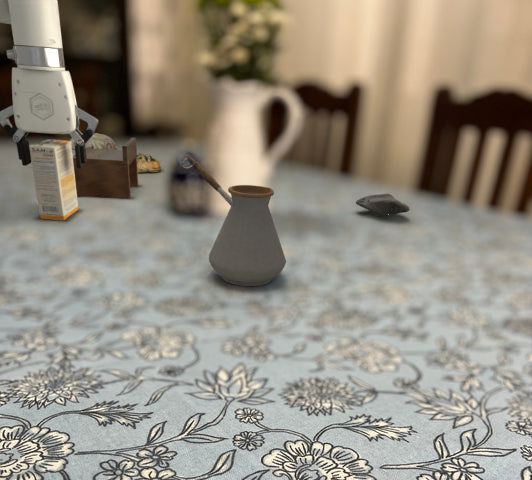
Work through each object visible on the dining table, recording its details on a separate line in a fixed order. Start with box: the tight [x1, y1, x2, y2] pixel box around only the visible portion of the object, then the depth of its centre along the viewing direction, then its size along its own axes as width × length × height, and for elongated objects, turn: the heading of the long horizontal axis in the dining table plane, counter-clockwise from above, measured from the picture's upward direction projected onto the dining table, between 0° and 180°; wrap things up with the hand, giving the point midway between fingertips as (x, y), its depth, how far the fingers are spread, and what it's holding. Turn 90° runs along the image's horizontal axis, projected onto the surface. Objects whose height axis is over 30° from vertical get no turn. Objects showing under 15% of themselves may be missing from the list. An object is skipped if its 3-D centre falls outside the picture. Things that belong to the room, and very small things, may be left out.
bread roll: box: [137, 152, 162, 174], centre depth 145 cm, size 11×11×5 cm
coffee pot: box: [181, 155, 287, 287], centre depth 77 cm, size 21×12×15 cm, turn 42°
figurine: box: [69, 132, 119, 151], centre depth 129 cm, size 10×14×15 cm, turn 138°
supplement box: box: [29, 138, 79, 221], centre depth 97 cm, size 8×5×13 cm, turn 178°
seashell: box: [355, 193, 411, 218], centre depth 116 cm, size 12×6×10 cm
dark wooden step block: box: [73, 137, 139, 200], centre depth 118 cm, size 12×14×11 cm
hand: (54, 165), depth 96 cm, fingers open, 9 cm apart
